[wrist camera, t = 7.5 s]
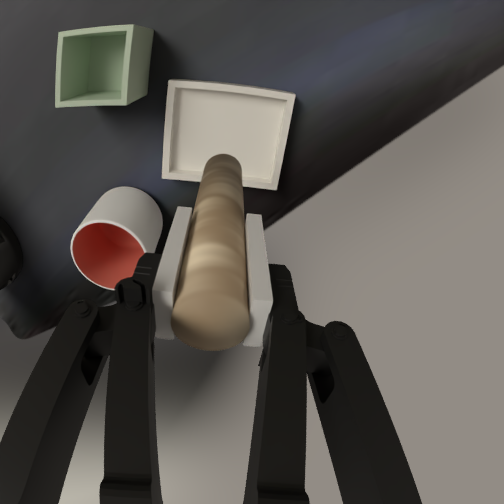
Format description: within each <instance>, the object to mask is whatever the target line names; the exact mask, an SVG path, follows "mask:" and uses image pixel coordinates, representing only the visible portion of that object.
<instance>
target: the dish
mask: <svg viewBox="0 0 504 504" xmlns="http://www.w3.org/2000/svg"><path fill="white" fill-rule="evenodd" d="M294 100H295V94H294V93H292V92H288V91H282V90H276V89H270V88H263V87H257V86H249V85H242V84H233V83H224V82H214V81H202V80H188V79H170V80H169V81H168V91H167V102H166V114H165V128H164V145H163V165H162V179H174V180H186V181H197V182H201V179H202V175H203V171H204V168H205V165H206V163H207V161H208V160H209V159H210V158H211V157H213V156H215V155H217V154H229V155H231V156H233V157H235V158H236V159H237V160H238V161H239V163H240V165H241V168H242V184H243V186H245V187H254V188H262V189H270V190H277V186H278V181H279V176H280V171H281V166H282V161H283V156H284V151H285V146H286V141H287V136H288V131H289V126H290V121H291V116H292V111H293V106H294Z"/></svg>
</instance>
